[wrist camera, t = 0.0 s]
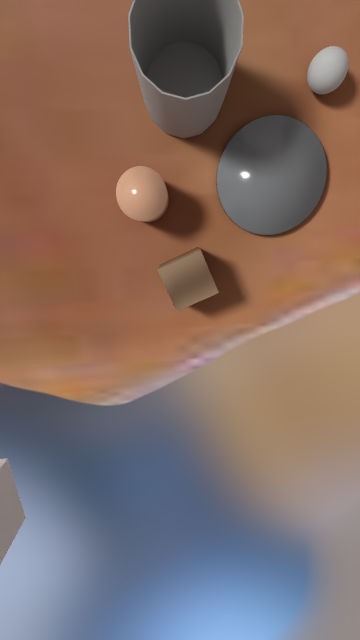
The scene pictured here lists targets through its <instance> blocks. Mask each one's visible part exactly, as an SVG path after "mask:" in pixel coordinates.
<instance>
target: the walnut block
mask: <svg viewBox="0 0 360 640" xmlns="http://www.w3.org/2000/svg"><path fill="white" fill-rule="evenodd" d="M158 272H159V274H160V277H161V279H162V281H163V283H164V285H165V287H166V289H167V291H168V293H169V296H170V298H171V300H172V302H173V304H174V306H175V308H176V310H177V311H179V310H181V309H183V308H186V307H188V306H190V305H193V304H195V303H197V302H199V301H202V300H204V299H206V298H208V297H211V296H213V295H215V294H217V293H219V292H218V289H217V287H216V285H215V282H214V280H213V278H212V275H211V273H210V271H209V268H208V266H207V264H206V261H205V259H204V256H203V254H202V252H201V250H200V249H199V248H198V247H197V248H195V249H193V250H191V251H189V252H187V253H184V254H182V255H180V256H178V257H176V258H174V259H172V260H169V261H167V262H165V263H163V264H161V265H160V266H159V268H158Z"/></svg>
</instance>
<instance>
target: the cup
mask: <svg viewBox="0 0 360 640" xmlns="http://www.w3.org/2000/svg"><path fill="white" fill-rule="evenodd" d="M243 18H244V14H243V11H242V8H241V5H240V2H239V0H133V3H132V6H131V8H130V11H129V14H128V21H129V45H130V51H131V54H132V58H133V62H134V65H135V69H136V73H137V76H138V80H139V84H140V87H141V91H142V95H143V98H144V102H145V105H146V107H147V109H148V112H149V114H150V116H151V118H152V121H153V122H154V123H155V124H156V125H157V126H158V127H159V128H161V129H162V130H163V131H164V132H165V133H166V134H168V135H172V136H176V137H180V138H188V137H192V136H196V135H199V134H202V133H203V132H204V131H205V130H206V129H207V128H208V127H209V126H210V125H212V124H213V123H214V122H215V120H216V118H217V115H218V113H219V111H220V109H221V106H222V104H223V102H224V99H225V96H226V93H227V90H228V87H229V84H230V81H231V78H232V75H233V72H234V69H235V67H236V64H237V61H238V58H239V55H240V52H241V49H242V40H243Z"/></svg>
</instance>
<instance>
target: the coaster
mask: <svg viewBox="0 0 360 640" xmlns="http://www.w3.org/2000/svg"><path fill="white" fill-rule="evenodd" d="M326 176H327V163H326V156H325V153H324V149H323V147H322V144H321V142H320V140H319V139H318V137H317V136H316V134H315V133H314V132H313V131H312V130H311V129H310V128H309V127H308V126H307V125H306V124H304V123H303V122H301V121H299V120H297V119H295V118H292V117H289V116H284V115H270V116H264V117H261V118H258V119H256V120H254V121H252V122H250V123H248V124H247V125H245V126H244V127H243V128H241V129H240V130H239V131H238V132H237V133H236V134H235V135H234V136H233V137H232V139H231V140H230V142H229V143H228V144H227V146H226V148H225V150H224V152H223V154H222V156H221V159H220V161H219V165H218V169H217V177H216V185H217V193H218V197H219V201H220V203H221V206H222V208H223V210H224V212H225V213H226V214H227V216H228V217H229V218H230V219H231V220H232V222H234V223H235V224H236V225H237V226H239V227H240V228H242V229H244V230H246V231H248V232H251V233H255V234H261V235H273V234H279V233H282V232H285V231H288V230H290V229H292V228H294V227H296V226H297V225H299V224H300V223H301V222H303V221H304V220H305V219H306V218H307V217H308V216H309V215H310V214H311V212H312V211H313V210H314V209H315V207H316V205H317V204H318V202H319V200H320V198H321V196H322V193H323V190H324V187H325V183H326Z"/></svg>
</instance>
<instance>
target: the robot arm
mask: <svg viewBox="0 0 360 640" xmlns="http://www.w3.org/2000/svg"><path fill="white" fill-rule="evenodd" d="M24 519H25V515H24V511H23V508H22V505H21V501H20V498H19V495H18V491H17V488H16V485H15V481H14V478H13V475H12V471H11V468H10V465H9V461H8V459H0V564H1V562H2V560H3V558H4V557H5V555H6V553H7V551H8V549H9V547H10V545H11V544H12V541H13V540H14V538H15V536H16V534H17V532H18V530H19V529H20V527H21V525H22V523H23V521H24Z"/></svg>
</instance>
